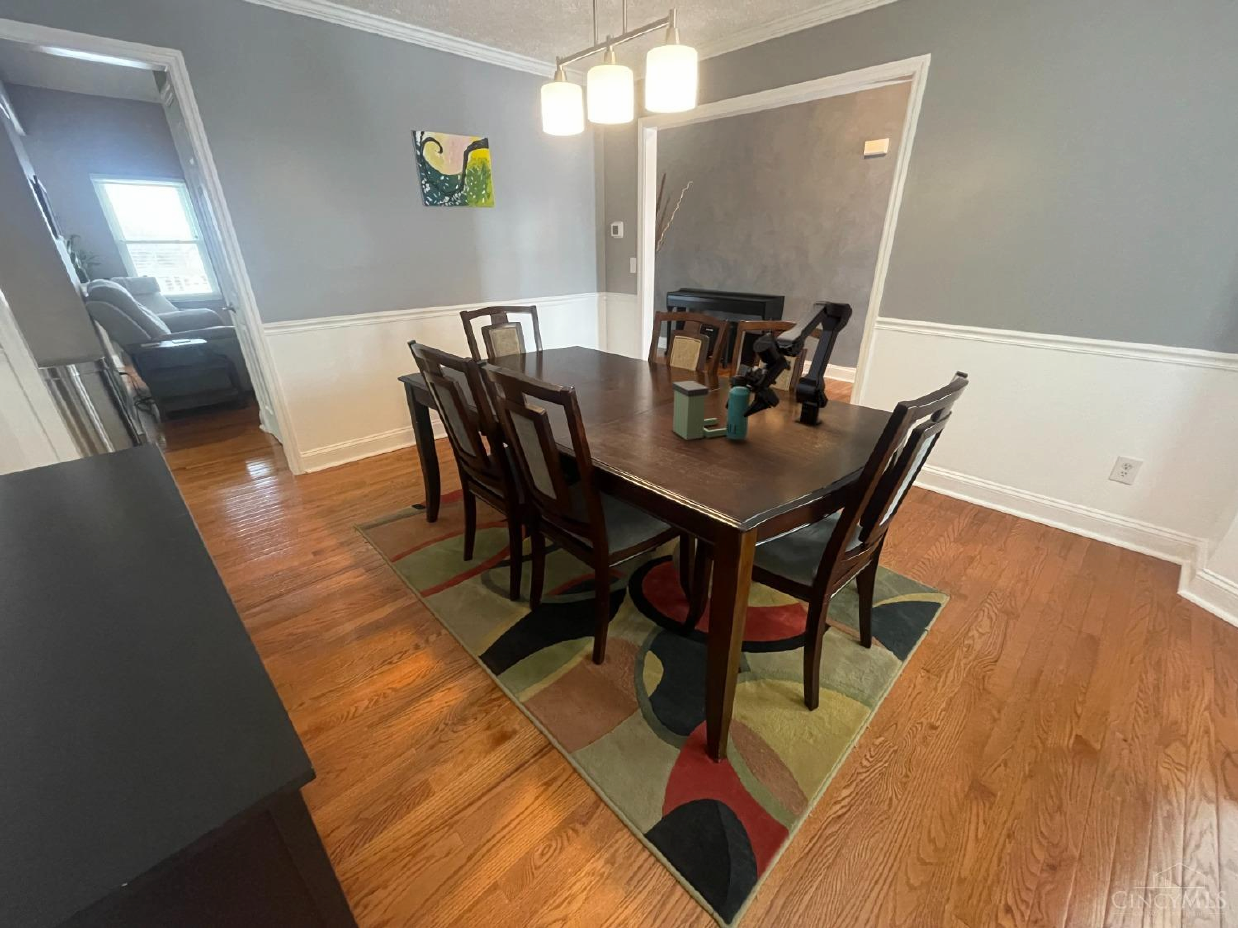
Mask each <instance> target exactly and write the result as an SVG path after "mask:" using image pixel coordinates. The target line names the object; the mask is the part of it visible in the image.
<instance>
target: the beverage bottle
mask: <svg viewBox="0 0 1238 928" xmlns="http://www.w3.org/2000/svg"><path fill="white" fill-rule="evenodd" d="M735 376H736V377H735V378H734V385H739V386H745V385H748V379H747V378H745V377H742V376H741V375H735ZM728 393H729V395H728V399H727V401H728V400H729V404H728V409H727V415H726V428H727V429H726V435H725V436H726V437H727V438H728V439H732V440H744V439H746V437H747V434H748V425H749V424H748V423H749V416H748V417H746V418H744V417H743V414H744V413H745V411H746V410H747V408H748V407H749V406H750V401H751V394H752V393H751V392H750V391H749V390H748V389H747V388H746V387H734V388H732V389H731V388H730V390H729V392H728Z"/></svg>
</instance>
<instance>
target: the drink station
mask: <svg viewBox="0 0 1238 928" xmlns="http://www.w3.org/2000/svg"><path fill="white" fill-rule="evenodd" d="M672 390H673V391H674V393H673V418H672V419H673V421H672V422H673V423H672V431H673V432H674V433H675V434H677V435H678V436H679V437H681V438H683V440H686V441H689V440H694V439H695V440H696V439H702V438H704V437H706V438H707V439H709V438H710V439H711V438H716V437H722V436H726V429H727V427H724V428H717V429H712V430H711V429H707V428H705V427H708V426H714V425H717V420H718V419H717V418H716V417H713V418H706V419H705V412H706V411H705V410H706V398H707V395H709V387H707V386H705V385H703V384H701V383H699V382H696V381H694V380H685V381H683V380H682V381H674V382H672Z"/></svg>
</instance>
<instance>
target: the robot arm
mask: <svg viewBox="0 0 1238 928" xmlns="http://www.w3.org/2000/svg"><path fill="white" fill-rule="evenodd" d="M852 316H853V308H852V306H851V305H850V304H849V303H848V302H847V303H846V302H835V301H827V300H817V301H814V303H813V305H812V307H811V308H810V309H809V311H807V313H806V314H805V315H804V316H803V317H801V319H800V320H799V321H798V322H797V323H796V325H794V327H792V328H791V329H788V330H786V331H784V332H783V333H781V334H780V335H779V336H777V337H776V336H775V335H774V334H773V333H769V332H767V333H766V334H765V335H764V336H761V337H759V338H758V339H757V340H755V341H754V342H753V345H752V350H753V351H754V352H755V354H756V356H757V357H758V358H759V360H760V362H761V363H763V364H762V366H760V367H759V366H755V365H754V367H750V366H747V365H745V364H740V365H739V367H738V370H737V371H736V375H732V376H731V377H730V378H729V380H728V382H729V386H730V390H731V389H732V388H734V387H746V388H747V389H748V390H749V391H750V392H751V394H753V395H754V398H753V400H752V402H751V403H750V404H749V407H748V408H747V410H746V411H745V413H744V414H743V417H744V418H746V417H748V418H749V417H750V416H753V415H755V414H757V413H760V412H762V411H764V410H765V411H766V410H767V409H772V408H776V407H777V406H778V405H780V399H781V398H780V397H779V396H778V394H777V393H776V391H774V389H773V388H770V387H772V385H773V386H776V385H777V383H778V382H777V379H778V378H779V376H780V375H781V374H782V373H783V372H784V371H785V370H786V371H788V372H790V371H791V369H792V365H791V364H792V361H791V360H788V359H787V358H786V357H788V358H797V357H798V356H799V355H800V354H801V352H802V351H803V349H804V348H805V346H806V345H805V343H806V339H807V338H808V337H809V336H810V335H811V334H812V333H813V332H814V331H815V330H816V328H817V327H818V326H819V325H820V324H821V327H822V328H821V329H822V330H821V333H820V336H819V340H818V342H817V344H816V348H815V351H814V354H813V357H812V360H811V363H810V366H809V369H808V371H807V373H806V374H805V375H803V376H799V379H798V382H797V385H796V387H795V401H796V402H795V403H796V404H801V408H800V409H801V410H800V416H799V418H797V419H794V420H795V422H796V423H799V424H804V425H807V426H812V427H814V426H815V425H818V424H821V423H822V422H823V420H822V419H819V416H820V411H821V410H820V409H824V408H826V406H827V405H828V402H829V399H828V397H827V394H826V393H825V390H826V383H825V378H824V376H825V373H826V370H827V367H828V365H829V361H830V359H831V357H832V352H833V350H834V347H835V344H836V342H837V338H838V336H839V333H841V331H842V330H843V329H844V328H846V327H847V326H848V322H849V321H850V319H851V317H852ZM775 337H776V338H775ZM736 376H742V377H745V378H747V379H748V385H745V386H739V385H734V378H735V377H736ZM728 404H729V400H728V399H727V401H726V404H725V405H724V408H725V409H726V410H728Z"/></svg>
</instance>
